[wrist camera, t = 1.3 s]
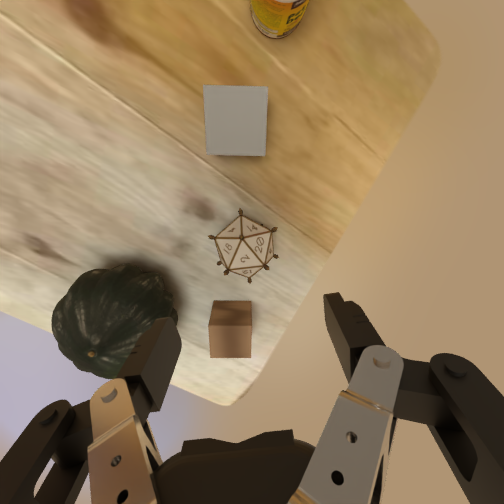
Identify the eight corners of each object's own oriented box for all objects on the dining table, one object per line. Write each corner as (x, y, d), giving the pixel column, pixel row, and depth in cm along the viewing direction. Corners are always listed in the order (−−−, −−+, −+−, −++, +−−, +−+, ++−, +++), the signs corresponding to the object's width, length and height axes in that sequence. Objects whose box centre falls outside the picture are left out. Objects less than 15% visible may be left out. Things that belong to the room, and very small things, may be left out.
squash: (91, 372, 38) (107, 434, 26) (27, 293, 32) (11, 327, 21) (171, 315, 45) (212, 344, 33) (130, 243, 40) (160, 248, 28)
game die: (239, 217, 38) (228, 185, 28) (288, 243, 36) (295, 219, 26) (208, 267, 36) (186, 252, 26) (258, 297, 35) (254, 292, 25)
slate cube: (214, 152, 30) (206, 154, 25) (212, 96, 28) (203, 84, 23) (262, 153, 31) (265, 156, 25) (264, 97, 28) (268, 86, 23)
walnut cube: (215, 329, 42) (210, 357, 36) (213, 300, 39) (208, 325, 34) (250, 329, 42) (250, 357, 36) (251, 300, 39) (251, 325, 34)
